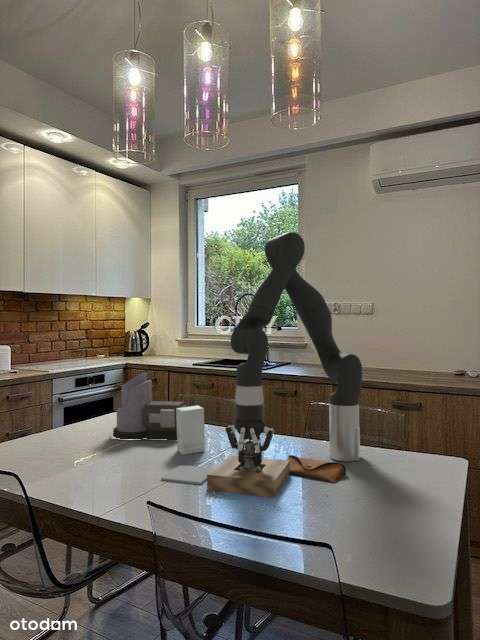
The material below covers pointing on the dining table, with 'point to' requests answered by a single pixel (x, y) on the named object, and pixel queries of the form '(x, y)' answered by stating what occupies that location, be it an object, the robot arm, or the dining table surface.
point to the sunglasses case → (316, 469)
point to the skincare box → (190, 429)
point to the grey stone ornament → (250, 458)
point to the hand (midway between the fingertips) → (250, 464)
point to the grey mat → (188, 474)
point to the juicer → (145, 413)
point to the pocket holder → (249, 477)
